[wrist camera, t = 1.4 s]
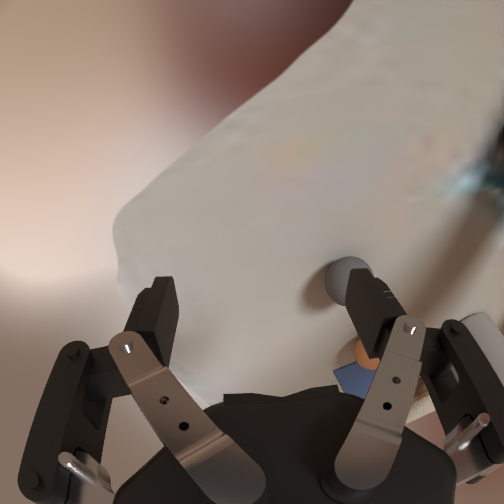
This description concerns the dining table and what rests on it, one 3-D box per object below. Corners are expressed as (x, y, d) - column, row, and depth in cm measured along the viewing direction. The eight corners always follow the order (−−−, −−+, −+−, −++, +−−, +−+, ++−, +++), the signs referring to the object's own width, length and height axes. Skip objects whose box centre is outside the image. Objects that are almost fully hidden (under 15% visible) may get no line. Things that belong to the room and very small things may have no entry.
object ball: (381, 318, 38) (394, 346, 34) (387, 340, 41) (398, 367, 36) (346, 333, 40) (355, 362, 35) (354, 354, 42) (363, 382, 37)
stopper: (429, 374, 47) (435, 387, 44) (429, 379, 48) (434, 391, 45) (338, 411, 52) (341, 425, 49) (341, 414, 53) (343, 428, 50)
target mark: (412, 337, 41) (412, 338, 41) (416, 377, 47) (416, 378, 47) (333, 370, 44) (333, 371, 44) (351, 404, 50) (351, 404, 50)
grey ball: (358, 239, 32) (375, 266, 27) (369, 275, 35) (385, 304, 30) (314, 259, 34) (323, 288, 29) (329, 293, 36) (339, 323, 31)
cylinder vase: (462, 360, 46) (506, 456, 24) (425, 358, 44) (471, 474, 23) (498, 314, 40) (558, 411, 18) (465, 306, 38) (536, 426, 17)
